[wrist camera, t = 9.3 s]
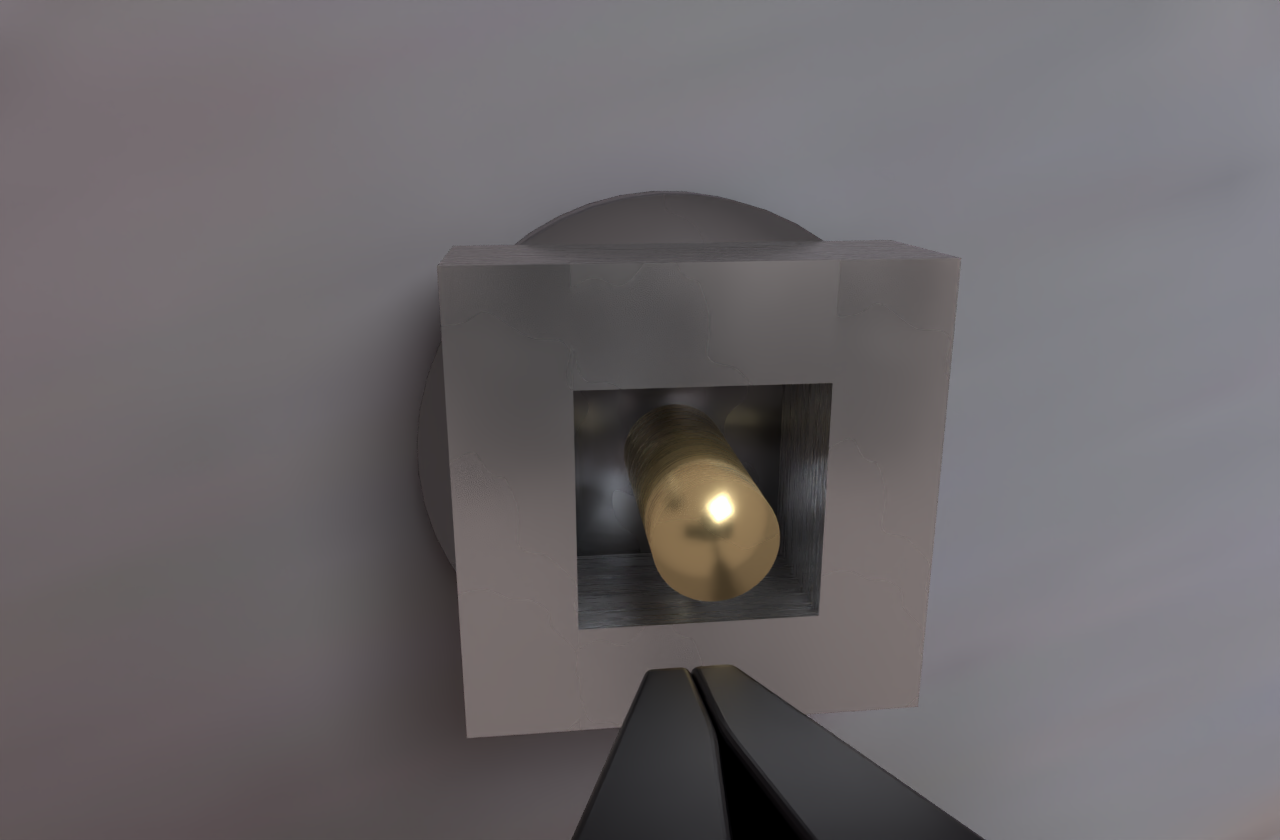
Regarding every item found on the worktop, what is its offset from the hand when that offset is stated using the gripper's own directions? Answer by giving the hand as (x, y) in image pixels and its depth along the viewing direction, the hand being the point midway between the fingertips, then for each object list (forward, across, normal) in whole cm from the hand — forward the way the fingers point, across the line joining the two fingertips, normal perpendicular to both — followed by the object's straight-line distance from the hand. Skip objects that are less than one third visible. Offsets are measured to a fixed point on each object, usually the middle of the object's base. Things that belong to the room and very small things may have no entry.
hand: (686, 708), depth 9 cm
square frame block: (+6, -1, 0) cm, 6 cm away
